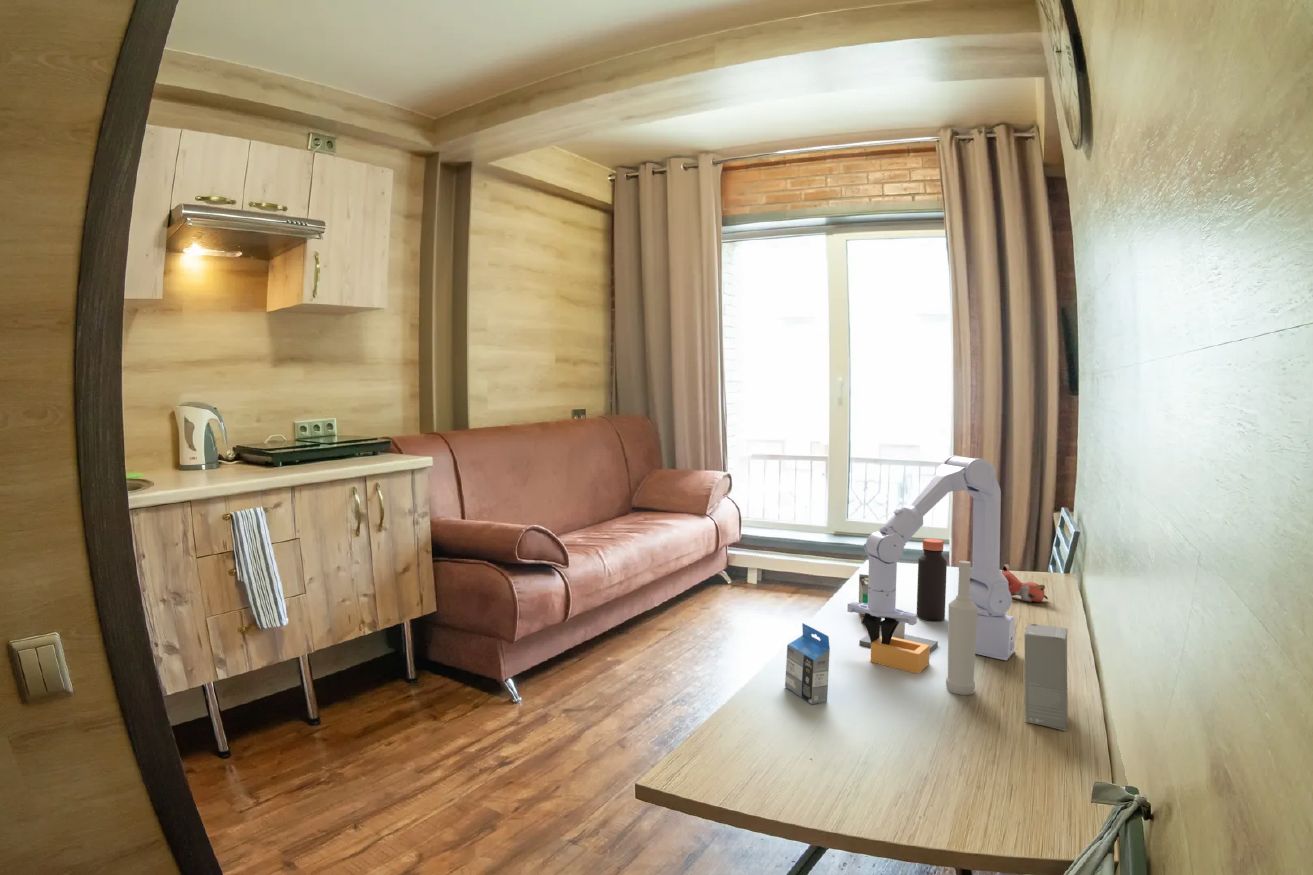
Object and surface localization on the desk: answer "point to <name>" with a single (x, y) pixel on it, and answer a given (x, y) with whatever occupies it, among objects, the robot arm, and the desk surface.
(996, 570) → the robot arm
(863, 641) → the plate
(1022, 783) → the desk surface
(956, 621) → the bottle
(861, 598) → the food container
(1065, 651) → the skincare box
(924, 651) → the link
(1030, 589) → the stuffed fox
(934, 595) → the vinegar
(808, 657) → the label tape box
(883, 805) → the desk surface
